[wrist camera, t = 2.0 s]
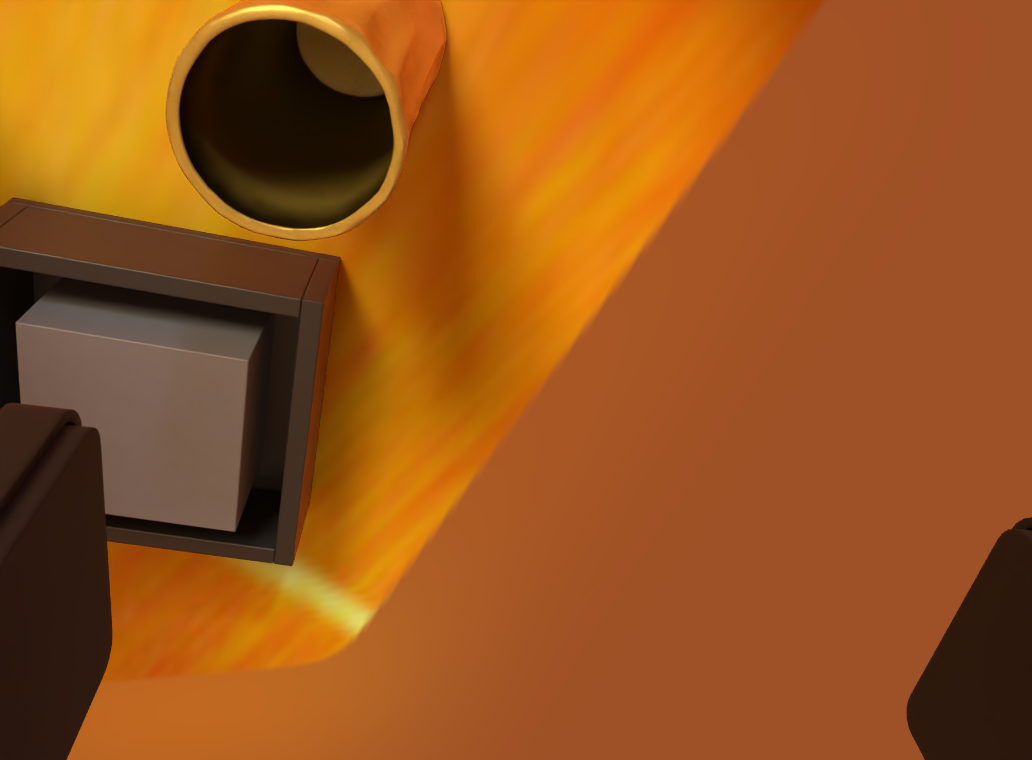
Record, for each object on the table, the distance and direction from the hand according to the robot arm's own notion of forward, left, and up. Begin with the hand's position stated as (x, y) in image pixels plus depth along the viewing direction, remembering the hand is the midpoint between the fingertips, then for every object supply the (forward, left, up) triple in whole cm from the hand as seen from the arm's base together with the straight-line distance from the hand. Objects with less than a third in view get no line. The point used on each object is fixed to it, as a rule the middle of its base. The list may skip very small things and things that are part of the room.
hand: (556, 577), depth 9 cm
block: (-11, -14, -27) cm, 32 cm away
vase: (-5, +1, -27) cm, 28 cm away
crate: (-11, -14, -27) cm, 33 cm away
